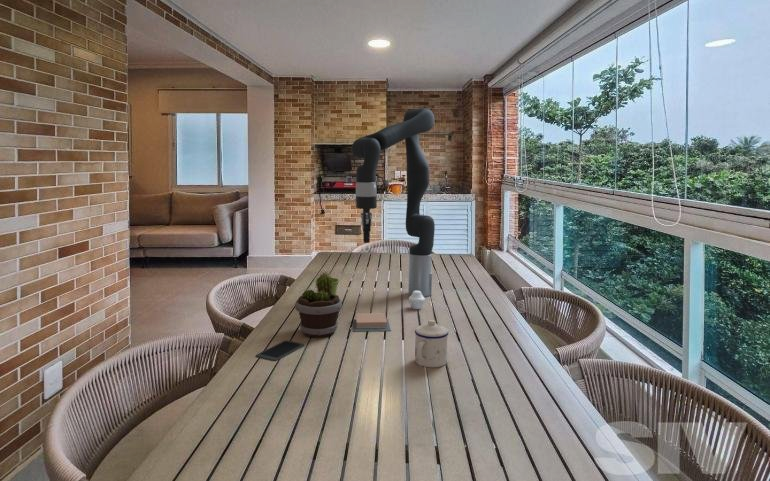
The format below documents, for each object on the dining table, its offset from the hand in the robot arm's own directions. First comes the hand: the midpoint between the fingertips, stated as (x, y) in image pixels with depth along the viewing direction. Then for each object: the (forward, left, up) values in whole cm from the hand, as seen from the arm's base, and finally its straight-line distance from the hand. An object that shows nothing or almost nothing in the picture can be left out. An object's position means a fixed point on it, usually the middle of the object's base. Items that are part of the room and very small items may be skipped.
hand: (366, 242), depth 177 cm
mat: (-1, +18, -25) cm, 31 cm away
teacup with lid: (-15, +51, -26) cm, 59 cm away
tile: (-1, +12, -24) cm, 27 cm away
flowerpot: (+16, +25, -26) cm, 39 cm away
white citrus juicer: (-19, -1, -26) cm, 32 cm away
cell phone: (+26, +40, -26) cm, 54 cm away
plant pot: (+15, -11, -26) cm, 32 cm away
